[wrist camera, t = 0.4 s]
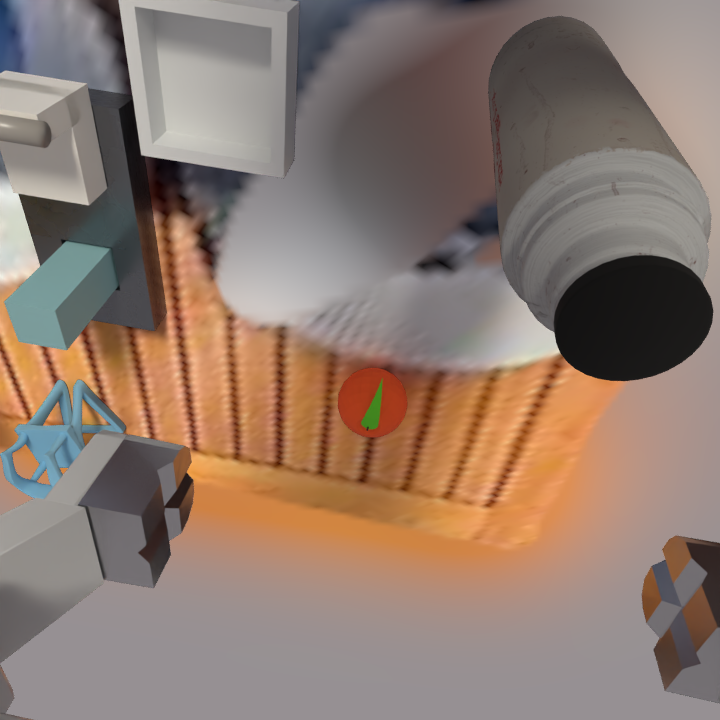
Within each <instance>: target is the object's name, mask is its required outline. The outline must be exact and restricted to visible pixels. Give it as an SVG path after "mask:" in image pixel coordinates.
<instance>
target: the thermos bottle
mask: <svg viewBox="0 0 720 720" xmlns="http://www.w3.org/2000/svg"><path fill="white" fill-rule="evenodd" d="M488 93H489V107H490V120H491V132H492V141H493V152H494V172H495V185H496V199H497V212H498V225H499V238H500V250H501V258H502V264H503V269H504V272H505V274H506V277H507V279H508V281H509V283H510V285H511V286H512V288H513V289H514V290H515V292H516V293H517V295H518V296H519V297H520V298H521V299H522V300H523V301H525V302H526V303H527V305H528V307H529V309H530V311H531V312H532V313H533V315H534V316H535V317H536V319H537V320H538V321H539V322H541V323H542V324H543V325H544V326H545V327H546V328H548V329H549V330H551V331H553V332H555V338H556V343H557V346H558V348H559V351H560V353H561V354H562V356H563V357H564V358H565V360H566V361H567V362H568V363H569V364H570V365H572V366H573V367H574V368H575V369H577V370H579V371H580V372H582V373H584V374H586V375H589V376H592V377H595V378H598V379H604V380H610V381H629V380H638V379H643V378H647V377H651V376H655V375H657V374H660V373H662V372H665V371H667V370H669V369H671V368H673V367H675V366H676V365H678V364H680V363H682V362H683V361H684V360H686V359H687V358H688V357H689V356H691V355H692V354H693V353H694V352H695V351H696V350H697V349H698V348H699V347H700V345H701V344H702V343H703V341H704V340H705V338H706V336H707V335H708V333H709V330H710V327H711V324H712V318H713V307H712V302H711V298H710V296H709V294H708V292H707V290H706V288H705V287H704V285H703V280H704V277H705V274H706V271H707V268H708V257H709V250H708V245H707V243H708V239H709V236H710V228H711V213H710V206H709V201H708V197H707V196H706V193H705V191H704V189H703V187H702V185H701V183H700V181H699V180H698V178H697V177H696V175H695V174H694V172H693V171H692V169H691V168H690V166H689V165H688V163H687V162H686V160H685V159H684V158H683V156H682V155H681V153H680V152H679V150H678V149H677V147H676V146H675V144H674V143H673V142H672V140H671V139H670V137H669V136H668V134H667V133H666V131H665V130H664V129H663V127H662V126H661V124H660V123H659V121H658V120H657V118H656V117H655V116H654V114H653V112H652V111H651V110H650V108H649V107H648V105H647V104H646V102H645V101H644V99H643V98H642V96H641V95H640V94H639V92H638V91H637V89H636V88H635V87H634V85H633V84H632V83H631V82H630V80H629V79H628V78H627V77H626V76H625V74H624V73H623V71H622V69H621V67H620V65H619V63H618V62H617V60H616V59H615V57H614V56H613V54H612V53H611V51H610V50H609V49H608V47H607V46H606V44H605V43H604V41H603V40H602V38H601V37H600V36H599V35H598V34H597V33H596V31H595V30H594V29H593V28H591V27H590V26H589V25H587V24H586V23H584V22H582V21H579V20H577V19H574V18H570V17H563V16H557V17H547V18H544V19H540V20H537V21H534V22H532V23H530V24H528V25H526V26H524V27H523V28H522V29H520V30H519V31H518V32H516V33H515V34H514V35H513V36H512V37H511V38H510V39H509V40H508V41H507V42H506V43H505V44H504V45H503V47H502V49H501V50H500V52H499V53H498V55H497V56H496V59H495V61H494V64H493V66H492V69H491V73H490V77H489V92H488Z"/></svg>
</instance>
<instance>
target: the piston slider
mask: <svg viewBox="0 0 720 720" xmlns="http://www.w3.org/2000/svg"><path fill="white" fill-rule="evenodd" d="M0 151H1V154H2V157H3V160H4V163H5V167H6V170H7V173H8V176H9V180H10V183H11V186H12V189H13V193H18V194H24V195H30V196H36V197H42V198H48V199H54V200H60V201H65V202H71V203H77V204H83V205H90V204H91V203H92V202H93V201H95V200H96V199H97V198H98V197H99V196H100V195H101V194H102V193H103V192H104V191H105V190H106V189H107V185H106V179H105V174H104V169H103V164H102V159H101V154H100V148H99V143H98V138H97V133H96V128H95V123H94V117H93V112H92V107H91V102H90V97H89V92H88V86H87V84H86V83H79V82H73V81H67V80H61V79H55V78H48V77H42V76H36V75H30V74H24V73H17V72H11V71H4V72H2V73H0Z"/></svg>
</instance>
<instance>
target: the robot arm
mask: <svg viewBox="0 0 720 720" xmlns="http://www.w3.org/2000/svg"><path fill="white" fill-rule="evenodd" d="M191 462H192V461H191V454H190V448H188V447H186V446H183V445H178V444H173V443H168V442H164V441H159V440H154V439H149V438H144V437H140V436H135V435H128V434H123V433H118V432H113V431H109V430H104V429H103V430H102V431H100V432H98V433H96V434H95V435H94V436H93V437H92V439H91V440H90V441H89V442H88V444H87V445H86V446H85V447H84V449H83V450H82V451H81V453H80V454H79V455H78V456H77V458H76V459H75V460H74V461H73V463H72V464H71V465H70V467H69V468H68V469H67V470H66V472H65V473H64V474H63V475H62V477H61V478H60V479H59V481H58V482H57V483H56V484H55V486H54V487H53V488H52V489H51V491H50V492H49V493H48V495H47V496H46V497H45V498H44V499H40V498H34V499H32V500H30V501H28V502H26V503H24V504H22V505H20V506H18V507H16V508H14V509H12V510H10V511H8V512H6V513H4V514H2V515H0V663H1V662H2V661H4V660H5V659H6V658H8V657H9V656H10V655H12V654H13V653H14V652H16V651H17V650H18V649H19V648H21V647H22V646H23V645H24V644H26V643H27V642H28V641H30V640H31V639H32V638H34V637H35V636H36V635H38V634H39V633H40V632H41V631H42V630H44V629H45V628H46V627H48V626H49V625H50V624H52V623H53V622H54V621H56V620H57V619H58V618H60V617H61V616H62V615H63V614H65V613H66V612H67V611H69V610H70V609H71V608H72V607H74V606H75V605H76V604H78V603H79V602H80V601H81V600H83V599H84V598H85V597H87V596H88V595H89V594H90V593H92V592H93V591H94V590H96V589H97V588H98V587H100V586H101V585H102V584H103V583H104V580H108V581H114V582H120V583H126V584H131V585H137V586H143V587H149V588H154V587H155V585H156V583H157V581H158V579H159V577H160V575H161V573H162V571H163V569H164V567H165V565H166V563H167V561H168V559H169V557H170V555H171V552H170V544H169V541H170V540H171V539H173V538H174V537H176V536H178V535H179V534H181V533H182V531H183V529H184V527H185V524H186V523H187V520H188V518H189V514H190V511H191V507H192V504H193V496H194V483H193V479H192V478H191V477H190V476H189V475H188V474H187V473H186V472H187V470H188V468H189V466H190V464H191ZM662 550H663V553H664V556H665V559H666V560H664V561H662V562H660V563H658V564H655V565H653V566H651V568H650V570H649V572H648V574H647V575H646V577H645V579H644V584H643V590H642V604H643V611H644V615H645V619H646V623H647V624H648V625H649V626H650V628H651V629H652V630H653V631H654V632H655V633H656V634H657V635H658V637H659V638H660V639H659V640H658V642H657V644H656V646H655V648H654V653H655V656H656V660H657V664H658V668H659V671H660V674H661V679H662V682H663V686H664V689H665V691H667V692H672V693H676V694H680V695H685V696H689V697H694V698H698V699H703V700H707V701H711V702H715V703H720V543H717V542H711V541H705V540H699V539H693V538H688V537H682V536H674V537H673V538H671V539H669V540H668V542H667V543H666V545H665V546H664V548H663V549H662ZM13 699H14V694H13V689H12V687H11V685H10V683H9V681H8V679H7V677H6V675H5V673H4V671H3V669H2V667H1V665H0V720H32V719H28V718H23V717H19V716H14V715H9V714H5V713H6V712H7V710H8V708H9V707H10V705H11V703H12V701H13Z"/></svg>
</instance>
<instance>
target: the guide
mask: <svg viewBox="0 0 720 720" xmlns="http://www.w3.org/2000/svg"><path fill="white" fill-rule="evenodd" d="M88 92H89V97H90V102H91V107H92V112H93V117H94V123H95V128H96V133H97V138H98V143H99V148H100V154H101V159H102V164H103V169H104V174H105V179H106V185H107V189H106V190H105V191H104V192H103V193H102V194H101V195H100V196H99V197H98V198H97V199H96V200H95V201H93V202H92V203H91V204H90V205H83V204H77V203H71V202H65V201H60V200H54V199H48V198H42V197H36V196H30V195H24V194H19V197H20V200H21V203H22V207H23V210H24V213H25V217H26V220H27V223H28V226H29V230H30V233H31V236H32V240H33V243H34V246H35V250H36V253H37V256H38V259H39V263H40V266H41V265H42V264H43V263H44V262H45V261H46V260H48V259H49V258H50V257H51V256H52V255H53V254H54V253H55V252H56V251H57V250H58V249H59V248H60V247H61V246H62V245H63V244H64V243H65V242H66V241H67V240H69V241H75V242H81V243H87V244H92V245H98V246H104V247H110V248H112V251H113V256H114V261H115V266H116V271H117V276H118V281H119V286H118V287H117V288H116V289H115V291H114V292H113V293H112V294H111V296H110V297H109V298H108V299H107V301H106V302H105V303H104V304H103V306H102V307H101V308H100V309H99V311H98V312H97V313H96V314H95V316H94V317H93V318H92V319H91V320H94V321H100V322H106V323H111V324H117V325H123V326H128V327H134V328H140V329H146V330H151V331H155V330H156V329H157V327H158V325H159V324H160V322H161V321H162V319H163V318H164V316H165V315H166V313H167V311H166V304H165V297H164V290H163V283H162V276H161V269H160V262H159V255H158V248H157V241H156V234H155V227H154V220H153V213H152V206H151V199H150V192H149V185H148V178H147V171H146V164H145V157H144V155H141V149H140V143H139V136H138V129H137V122H136V115H135V108H134V102H133V96H132V95H125V94H119V93H113V92H107V91H101V90H94V89H88Z"/></svg>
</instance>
